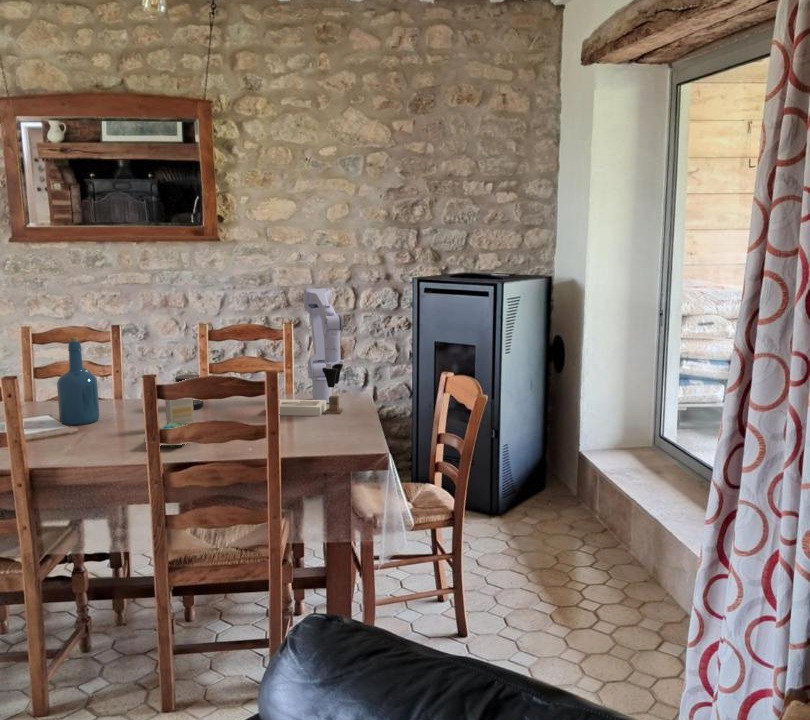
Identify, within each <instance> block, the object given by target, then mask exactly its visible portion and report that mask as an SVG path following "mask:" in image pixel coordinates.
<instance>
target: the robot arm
mask: <svg viewBox="0 0 810 720" xmlns="http://www.w3.org/2000/svg"><path fill="white" fill-rule="evenodd" d="M331 296H332V295H331V289H330V288H328V287H323V288H305V289H304V290H303V297H302V300H303V306H304V307H303V308H304V311H305V312H307V313H309V317H310V324H311V337H312V345H313V346H312V347H313V355H311V356H310V357H309V358H308V360H307V375H308V378H309V379H311V381H312V382H311V383H312V385H311V387H312V399H311V400H326V404H329V397H330V396H333V388H335V386H336V385H338V384H339V382H340V376H341V371H342V368H343V366H344V364H343V363H345V360H344V359H342V358H341V331H342V326H343V323H342V321H343V320H342V317H341V314H337V313H336V311H335V309H334V307H333V305H331V304H330V303H331V299H332V297H331Z"/></svg>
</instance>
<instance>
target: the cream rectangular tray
mask: <svg viewBox="0 0 810 720" xmlns="http://www.w3.org/2000/svg"><path fill="white" fill-rule="evenodd" d="M279 400H280V415H279V416H300V417H301V416H302V417H304V416H307V417H309V416H310V417H313V416H315V417H320V416H322V415H323V413H325V411H326V410H327V403H326V400H312V399H279Z"/></svg>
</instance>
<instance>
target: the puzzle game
mask: <svg viewBox="0 0 810 720" xmlns="http://www.w3.org/2000/svg"><path fill="white" fill-rule="evenodd" d="M186 424H189V423H168V424H167V423H166V424H165V425H164V426H162V427H161V428H159V429H169V428H175V427H179V426H182V425H186ZM145 438H146V437H145ZM145 438H143V442H144V443H145ZM184 445H185V444H182V445H161V446H163V447H164V446H165V448H166V446H170V447H169V448H176V447H175V446H183V447H185V446H186V445H185V446H184ZM161 446H160V447H161ZM163 447H162V448H163Z"/></svg>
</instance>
